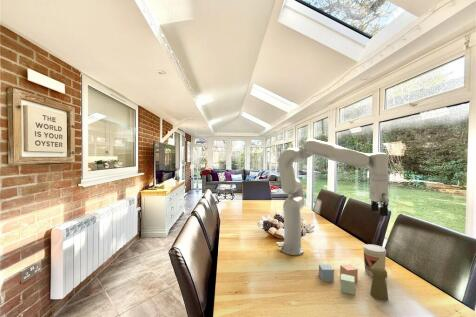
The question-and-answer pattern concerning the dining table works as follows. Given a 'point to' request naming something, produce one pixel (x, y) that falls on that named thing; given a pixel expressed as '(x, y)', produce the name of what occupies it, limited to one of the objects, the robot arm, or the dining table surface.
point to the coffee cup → (373, 257)
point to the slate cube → (326, 272)
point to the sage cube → (347, 284)
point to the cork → (379, 284)
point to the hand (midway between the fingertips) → (379, 213)
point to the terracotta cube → (349, 271)
